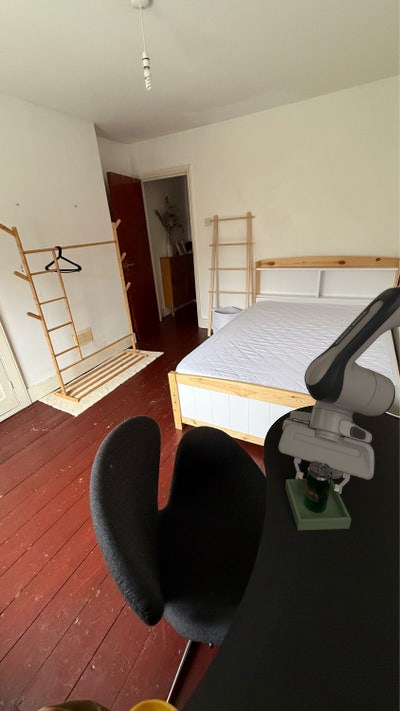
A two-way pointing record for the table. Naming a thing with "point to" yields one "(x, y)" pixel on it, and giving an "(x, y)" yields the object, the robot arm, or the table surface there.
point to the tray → (309, 520)
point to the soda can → (317, 486)
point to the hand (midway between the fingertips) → (317, 486)
